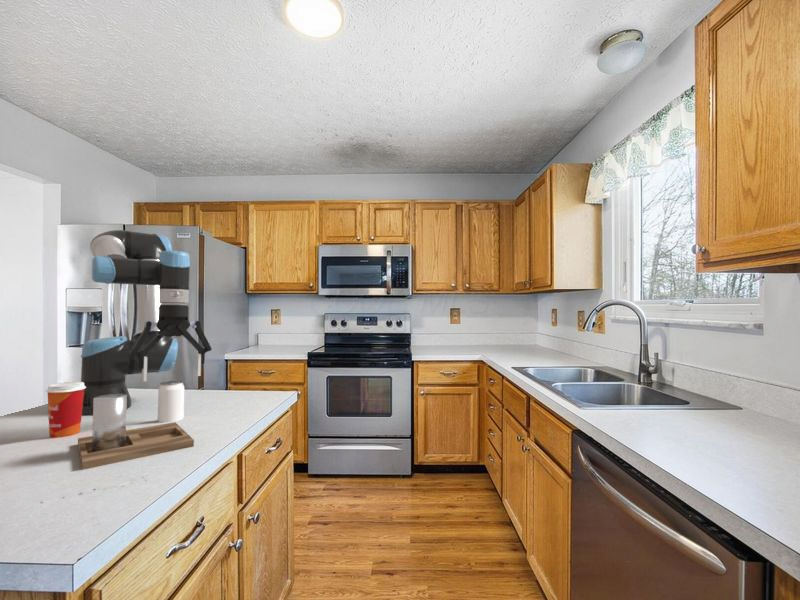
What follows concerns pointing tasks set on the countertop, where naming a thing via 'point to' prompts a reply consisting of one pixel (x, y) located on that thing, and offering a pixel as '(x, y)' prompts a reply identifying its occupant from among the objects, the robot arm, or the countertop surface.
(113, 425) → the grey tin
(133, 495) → the countertop surface
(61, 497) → the countertop surface
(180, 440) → the tray
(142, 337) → the robot arm
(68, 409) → the paper cup
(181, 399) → the can
